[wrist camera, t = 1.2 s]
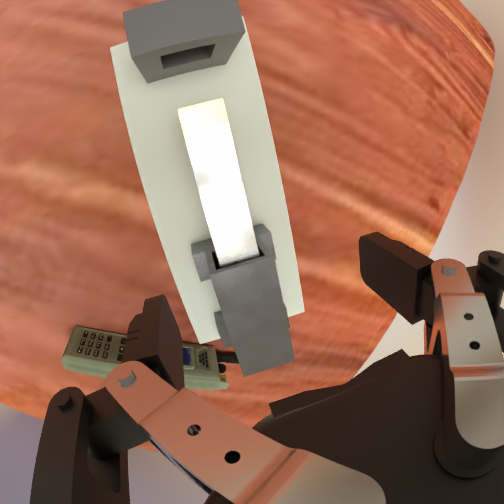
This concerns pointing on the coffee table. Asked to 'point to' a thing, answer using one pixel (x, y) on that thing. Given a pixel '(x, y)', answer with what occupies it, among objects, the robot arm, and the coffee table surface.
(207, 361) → the handheld radio
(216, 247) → the silver metal bar
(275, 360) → the sleeve
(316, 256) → the coffee table surface
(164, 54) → the socket
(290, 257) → the base board
